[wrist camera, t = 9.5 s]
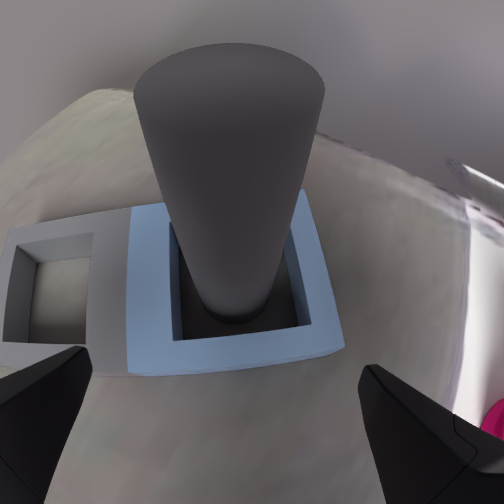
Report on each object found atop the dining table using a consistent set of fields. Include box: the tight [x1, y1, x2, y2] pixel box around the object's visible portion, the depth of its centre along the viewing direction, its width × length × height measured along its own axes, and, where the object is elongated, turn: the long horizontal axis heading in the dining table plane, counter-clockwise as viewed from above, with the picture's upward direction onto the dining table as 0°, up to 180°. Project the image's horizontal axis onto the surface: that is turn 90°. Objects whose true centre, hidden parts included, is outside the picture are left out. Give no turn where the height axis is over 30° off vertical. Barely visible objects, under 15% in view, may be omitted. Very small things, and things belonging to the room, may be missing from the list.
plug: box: [134, 43, 325, 324], centre depth 12 cm, size 4×4×14 cm
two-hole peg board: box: [0, 189, 345, 377], centre depth 16 cm, size 22×10×3 cm, turn 98°
